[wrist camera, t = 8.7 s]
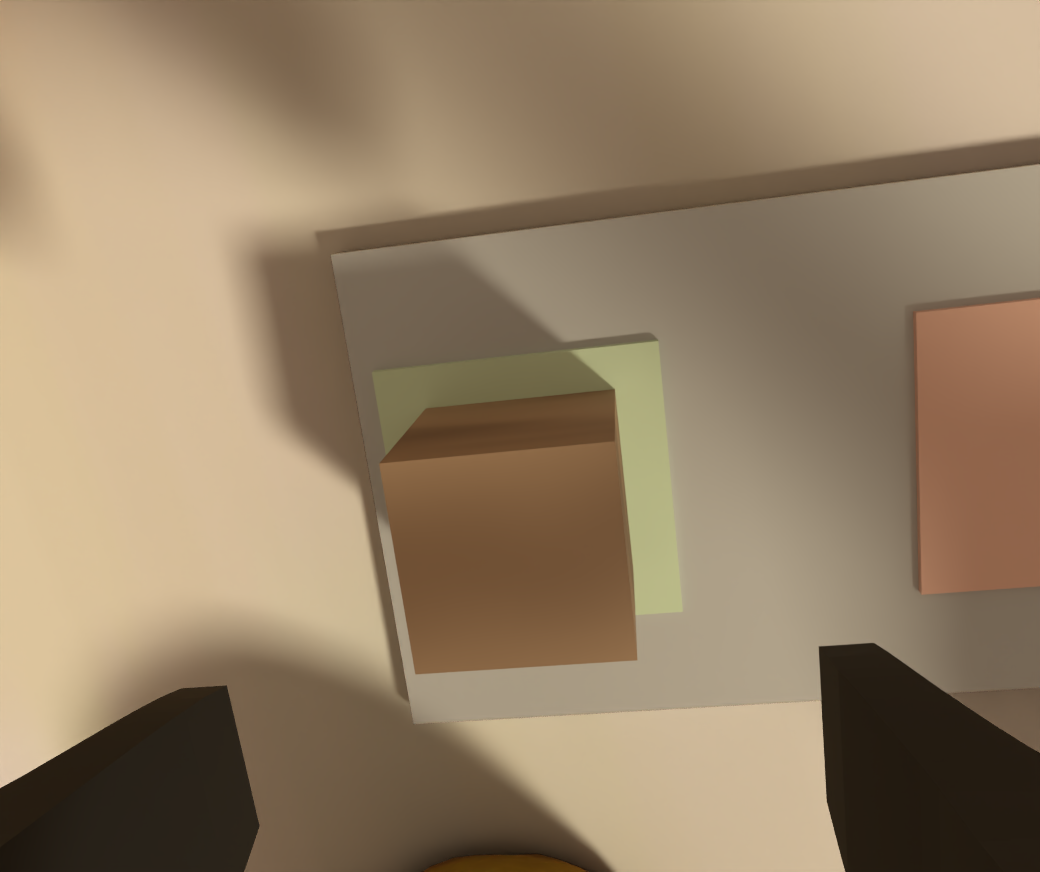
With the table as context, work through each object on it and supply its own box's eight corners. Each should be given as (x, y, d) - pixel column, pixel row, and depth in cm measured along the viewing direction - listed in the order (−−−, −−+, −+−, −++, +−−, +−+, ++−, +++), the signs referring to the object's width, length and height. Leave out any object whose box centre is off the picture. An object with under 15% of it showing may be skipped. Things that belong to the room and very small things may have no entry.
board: (1261, 135, 17) (1292, 132, 16) (1223, 662, 20) (1247, 681, 19) (338, 252, 20) (327, 255, 19) (418, 710, 22) (411, 729, 22)
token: (632, 568, 20) (637, 660, 16) (453, 582, 20) (415, 674, 17) (615, 388, 19) (614, 441, 15) (425, 408, 19) (379, 463, 16)
